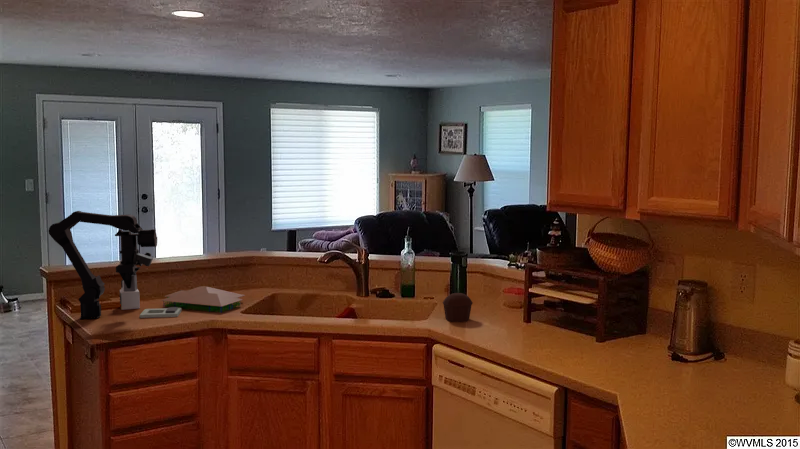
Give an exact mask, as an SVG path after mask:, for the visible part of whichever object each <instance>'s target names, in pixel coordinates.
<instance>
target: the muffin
mask: <svg viewBox="0 0 800 449" xmlns="http://www.w3.org/2000/svg"><path fill="white" fill-rule="evenodd" d="M473 303H474V302H473V300H472V299H471V298H470V297H469V296H468V295H467V294H466V293H462V292H454V293H451V294H449V295H447V296H446V297H445V298H444V299H443V301H442V304H443V310H444V316H445V320H446V321H448V322H451V323H463V322H465V323H466V322H468V321H470V316H471V311H472V305H473Z"/></svg>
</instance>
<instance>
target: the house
mask: <svg viewBox="0 0 800 449" xmlns="http://www.w3.org/2000/svg"><path fill="white" fill-rule="evenodd" d="M245 296H246V295H245V294H241V293H236V292H233V291H227V290H224V289H219V288H214V287H210V286H204V285H202V286H201V285H200V286H197V287H194V288H192V289H188V290H178V291H176V292H172V293H169V294H166V295H164V297H166V298H163V299H161V300H160V302H164V308H167V307H169V306H172V307H175V306H176V307H178V308H182V309H183V307H184V305H185V309H186V310H188V308H192V305H193V311H195V310H196V305H198V306H197V309H198V311H201V309H202V307H204V306H206V308H203V311H206V309H207V312H209V313H210V312H213V311H215V313H217V312H218V310H219V311H220V313H224V311H226V312H227V311H230V310H234V309H235V305H236V303H237V307H240V302H241V301H243V300H244V299H243V298H242V297H245Z"/></svg>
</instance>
